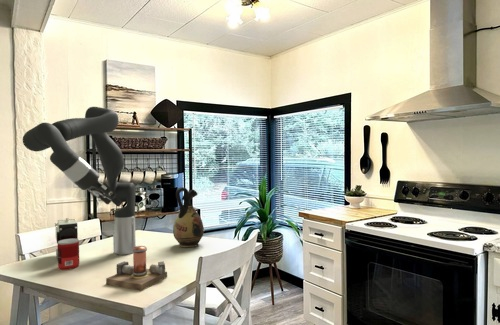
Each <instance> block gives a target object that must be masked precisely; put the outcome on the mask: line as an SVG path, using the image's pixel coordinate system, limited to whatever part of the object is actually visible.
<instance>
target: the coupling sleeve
mask: <svg viewBox="0 0 500 325" xmlns="http://www.w3.org/2000/svg"><path fill="white" fill-rule="evenodd" d="M147 250H148V249H147V246H145V245H137V246H136V247H134V248H133V249H132V252H133V253H132V256H133V260H132V262H133V266H134V271H133V275H134V276H135V277H141V276H145V275H146V274H147V270H146V269H147Z"/></svg>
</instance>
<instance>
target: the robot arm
mask: <svg viewBox="0 0 500 325" xmlns="http://www.w3.org/2000/svg"><path fill="white" fill-rule="evenodd" d="M118 125H119V114H118V113H117V112H116V111H115V110H113V109H110V108H105V107H100V106H99V107H98V106H90V107H88V108H87V109H86V111H85V114H84V117H75V118H74V117H73V118H65V119H62V120H58V121H54V122H53V123H49V122H41V123H39V124H37V125H35V126H33V127H32V128H30V129H29V130H28V131H26V132H25V133H24V134H23V136H22V144H23V145H24V147H25V148H26V149H27V150H29V151H31V152H42V151H46V150H47V149H51V151H53V152H52V153H51V155H50V157H49V160H50V162H51V163H52V164H53V166H56V168H57V169H58V170H60V171H61V172H62V173H63V174H64V175H65V177H67V178H68V179H69V180H70V181H71V182H73V184H75V185H76V186H77V187H78V188H79V189H81V190H82V191H86V190H87V191H88V192H89V193H90V194H91V195H92V196H93V197H95V198H97V199H100V200H101V201H102V202H103V203H104V204H106V205H110V203H111V202H112V203H113V204H114V205H115V206H116V207H118V208H119V207H121V205H122V204H123V203H126V205H125V206H124V207H121V208H119V209H116V210H115V211H114V212H113V213H114V216H113V217H114V232H113V235H112V236H113V237H112V238H113V239H112V240H113V241H112V242H113V243H112V244H113V245H112V246H113V249H112V250H113V253H114V254H116V255H120V256H121V255H130V254H133V252H132V249H133V248H134V247H136V192H137V191H136V184H134V183H133V182H119V181H118V178H119V176H120V174H121V173H122V171H123V169H124V165H125V160H124V155H123V152H122V150H121V148H120V147H119V146H118V145H117V143H116V142H115V141H114V140H113V139H112V138H111V137H110V136H109V134H108V133H112V132H114V131H115V130H116V129H117V127H118ZM84 136H91V138H92V140H93V143H94V145H95V148H96V150H97V154H98V157H99V160H100V164H101V166H102V169H103V171H104V175H105V179H106V181H107V182H102V181H101V182H100V181H99V178H100V173H99V172H98V171H97V170H96V169H94V167H92V165H90V164H89V163H88V162H87V161H86V160H84V158H82V157H81V156H80V155H78V154H77V152H75V150H73V149H72V148H71V146H69V143H68V142H69V141H72V140H74V139H78V138H81V137H84Z"/></svg>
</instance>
